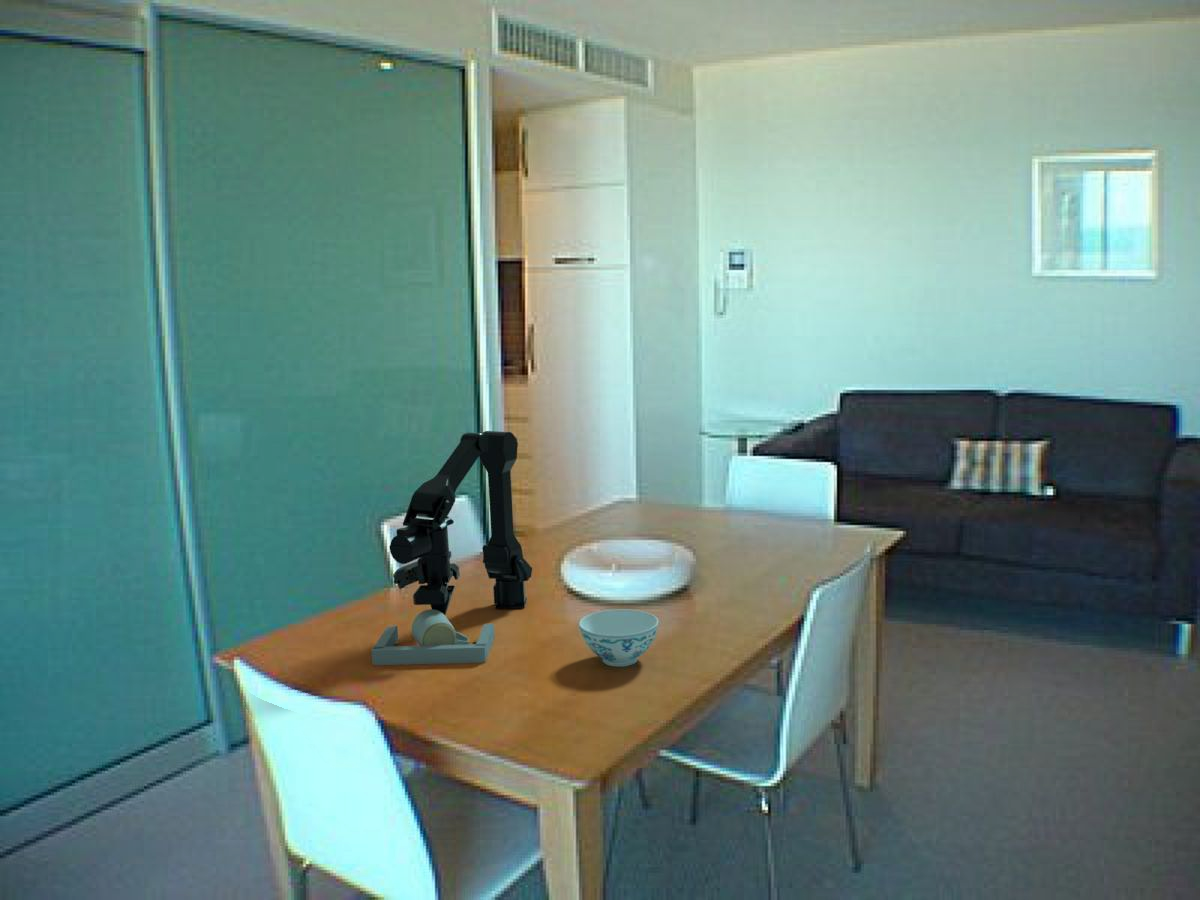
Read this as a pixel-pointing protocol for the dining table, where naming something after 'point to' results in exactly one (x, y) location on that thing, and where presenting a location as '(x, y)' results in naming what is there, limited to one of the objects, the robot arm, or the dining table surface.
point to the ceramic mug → (435, 630)
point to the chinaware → (619, 634)
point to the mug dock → (431, 650)
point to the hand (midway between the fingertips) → (440, 623)
